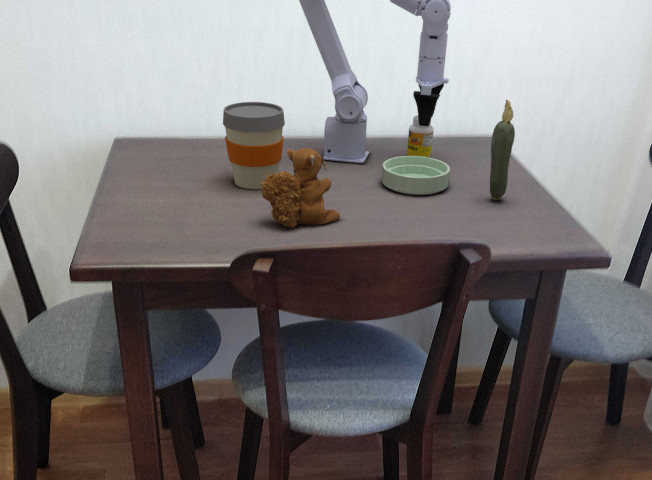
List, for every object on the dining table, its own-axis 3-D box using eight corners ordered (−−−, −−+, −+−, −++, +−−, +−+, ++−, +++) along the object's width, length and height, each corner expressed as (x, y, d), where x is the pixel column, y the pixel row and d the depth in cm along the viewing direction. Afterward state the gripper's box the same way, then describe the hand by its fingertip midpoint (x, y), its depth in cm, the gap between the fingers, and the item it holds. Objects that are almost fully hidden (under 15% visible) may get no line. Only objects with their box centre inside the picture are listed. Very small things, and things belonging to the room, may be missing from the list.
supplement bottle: (401, 160, 178) (405, 115, 172) (421, 157, 180) (425, 113, 175) (414, 167, 174) (418, 122, 168) (435, 164, 176) (439, 119, 171)
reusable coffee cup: (214, 184, 161) (209, 111, 153) (247, 168, 170) (244, 98, 162) (264, 196, 156) (263, 121, 148) (296, 178, 166) (296, 107, 157)
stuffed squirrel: (343, 219, 148) (346, 151, 140) (287, 238, 139) (286, 166, 132) (309, 204, 153) (309, 138, 146) (253, 221, 145) (251, 152, 138)
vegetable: (504, 206, 156) (519, 104, 145) (482, 203, 157) (496, 103, 146) (504, 198, 160) (520, 99, 149) (483, 196, 160) (497, 97, 149)
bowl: (376, 192, 160) (377, 174, 158) (387, 171, 172) (388, 153, 169) (444, 199, 158) (446, 180, 156) (450, 177, 170) (452, 159, 167)
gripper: (447, 64, 158) (440, 131, 165) (453, 51, 170) (446, 114, 177) (413, 62, 159) (408, 128, 166) (421, 49, 171) (416, 111, 178)
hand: (426, 121), depth 172 cm, fingers open, 7 cm apart
